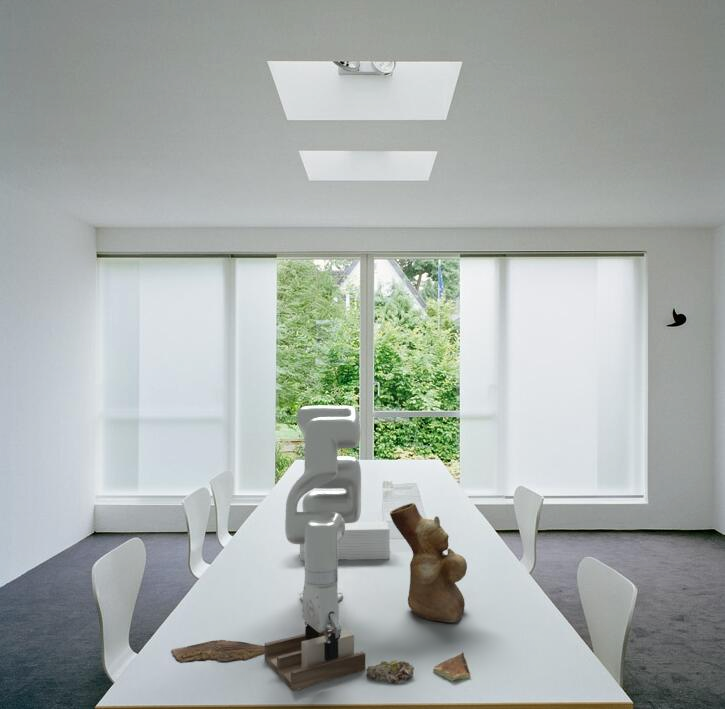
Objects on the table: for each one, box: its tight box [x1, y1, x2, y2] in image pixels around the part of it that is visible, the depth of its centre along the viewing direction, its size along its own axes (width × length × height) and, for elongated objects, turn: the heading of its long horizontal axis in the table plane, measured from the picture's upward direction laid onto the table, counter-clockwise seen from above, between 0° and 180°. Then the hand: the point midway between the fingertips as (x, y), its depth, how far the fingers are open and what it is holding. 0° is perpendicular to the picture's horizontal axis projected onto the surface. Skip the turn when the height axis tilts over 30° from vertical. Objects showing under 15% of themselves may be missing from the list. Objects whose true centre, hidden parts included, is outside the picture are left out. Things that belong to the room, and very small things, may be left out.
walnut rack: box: [264, 630, 366, 691], centre depth 146 cm, size 17×18×4 cm
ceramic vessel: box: [389, 502, 468, 623], centre depth 177 cm, size 16×22×30 cm
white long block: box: [299, 521, 391, 561], centre depth 229 cm, size 32×11×11 cm, turn 93°
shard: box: [432, 652, 471, 682], centre depth 143 cm, size 11×8×2 cm
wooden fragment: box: [171, 639, 265, 664], centre depth 153 cm, size 26×11×1 cm, turn 91°
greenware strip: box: [301, 629, 355, 668], centre depth 144 cm, size 3×12×6 cm, turn 120°
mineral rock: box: [366, 660, 415, 684], centre depth 141 cm, size 11×4×8 cm
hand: (321, 650), depth 143 cm, fingers open, 9 cm apart
